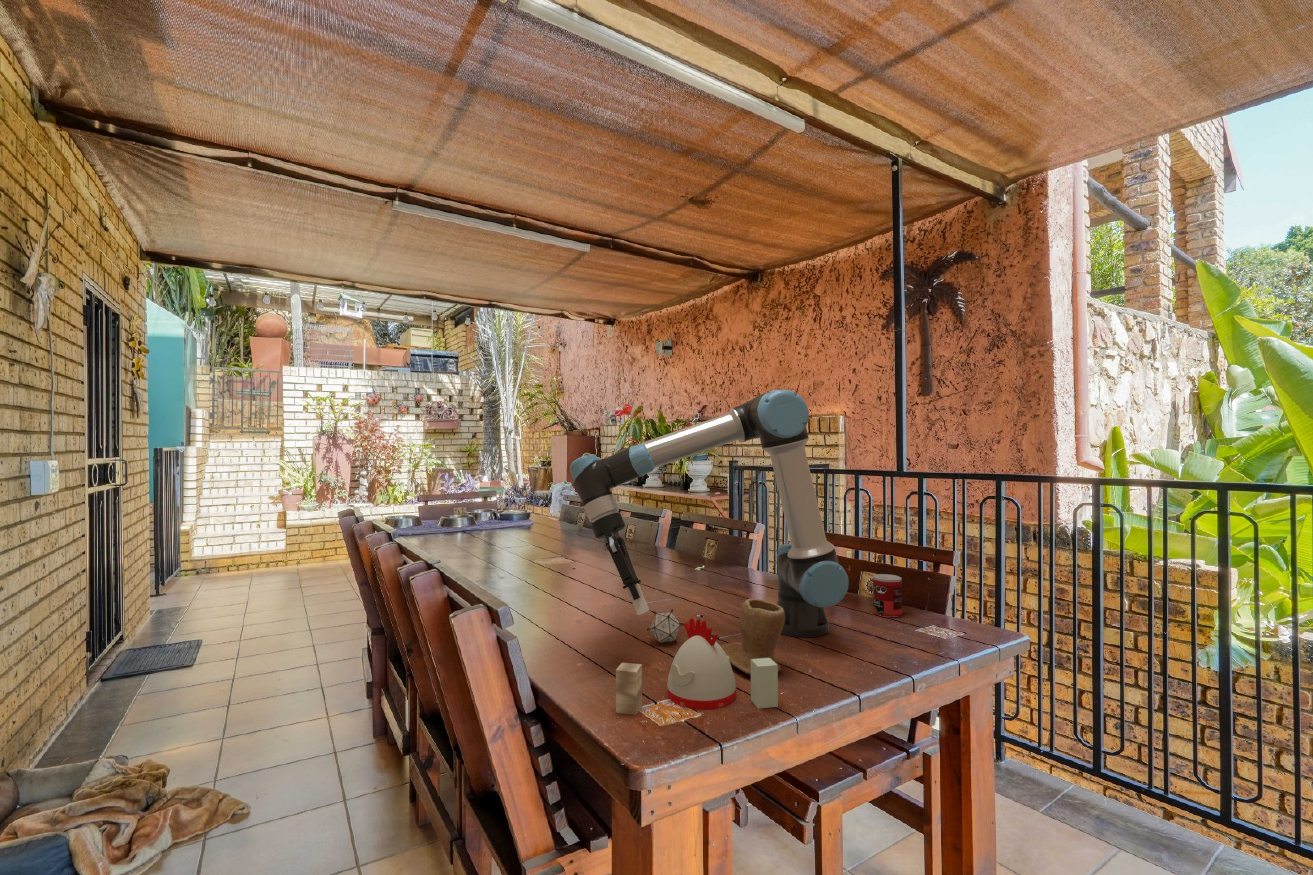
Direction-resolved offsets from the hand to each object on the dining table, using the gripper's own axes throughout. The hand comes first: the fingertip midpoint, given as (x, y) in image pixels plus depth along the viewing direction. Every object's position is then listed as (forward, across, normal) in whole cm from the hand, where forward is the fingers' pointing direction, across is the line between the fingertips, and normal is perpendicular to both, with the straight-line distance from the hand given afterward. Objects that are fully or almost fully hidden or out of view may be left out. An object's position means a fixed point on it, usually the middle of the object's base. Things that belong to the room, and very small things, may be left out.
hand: (643, 612), depth 136 cm
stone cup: (+21, -5, +18) cm, 28 cm away
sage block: (+25, +13, +17) cm, 33 cm away
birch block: (+15, +18, -7) cm, 25 cm away
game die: (+9, -19, 0) cm, 21 cm away
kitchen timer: (+19, +10, +6) cm, 23 cm away
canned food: (+28, -49, +59) cm, 82 cm away
